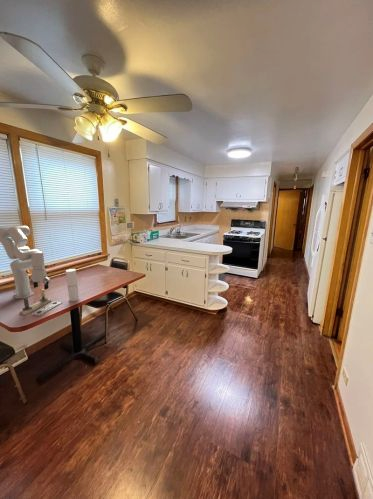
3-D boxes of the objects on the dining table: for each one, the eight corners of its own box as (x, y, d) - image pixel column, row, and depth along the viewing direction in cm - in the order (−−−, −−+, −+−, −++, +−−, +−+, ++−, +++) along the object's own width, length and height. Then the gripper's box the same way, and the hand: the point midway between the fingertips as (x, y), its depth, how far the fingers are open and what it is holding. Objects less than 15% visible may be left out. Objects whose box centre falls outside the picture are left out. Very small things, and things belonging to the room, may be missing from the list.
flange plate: (31, 314, 147) (31, 313, 147) (54, 302, 166) (54, 301, 166) (40, 316, 146) (39, 314, 145) (61, 303, 165) (61, 301, 164)
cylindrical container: (67, 300, 169) (63, 271, 164) (74, 296, 176) (71, 268, 171) (73, 301, 167) (70, 272, 162) (80, 298, 174) (77, 269, 168)
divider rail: (19, 314, 148) (17, 301, 145) (45, 300, 169) (44, 289, 167) (25, 315, 147) (23, 302, 145) (51, 301, 168) (49, 289, 166)
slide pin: (39, 300, 163) (37, 290, 161) (42, 299, 166) (41, 288, 164) (44, 301, 162) (43, 290, 160) (48, 299, 165) (46, 289, 163)
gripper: (24, 267, 156) (27, 288, 160) (44, 270, 153) (46, 291, 157) (33, 264, 163) (36, 284, 167) (52, 267, 160) (54, 287, 164)
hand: (41, 288), depth 162 cm, fingers open, 9 cm apart
